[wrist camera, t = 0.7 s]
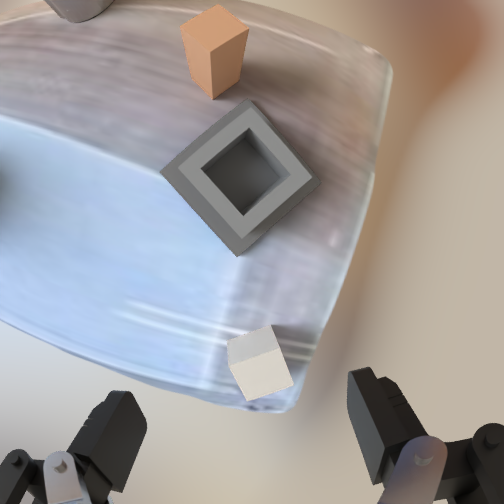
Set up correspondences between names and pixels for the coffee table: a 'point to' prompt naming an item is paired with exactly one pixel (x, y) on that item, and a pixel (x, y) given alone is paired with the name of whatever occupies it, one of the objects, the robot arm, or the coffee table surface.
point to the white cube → (258, 363)
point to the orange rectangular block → (214, 49)
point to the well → (241, 176)
